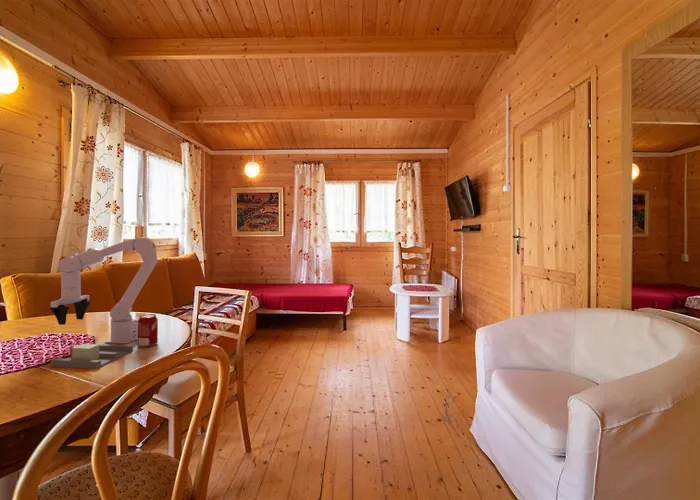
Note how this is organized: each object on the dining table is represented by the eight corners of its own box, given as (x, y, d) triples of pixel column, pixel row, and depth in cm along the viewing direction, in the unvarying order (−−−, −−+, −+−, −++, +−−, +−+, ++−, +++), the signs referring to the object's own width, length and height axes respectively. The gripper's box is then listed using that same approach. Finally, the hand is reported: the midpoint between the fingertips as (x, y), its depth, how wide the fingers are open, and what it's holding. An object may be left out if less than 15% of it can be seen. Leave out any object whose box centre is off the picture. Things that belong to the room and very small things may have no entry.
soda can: (147, 348, 123) (148, 318, 123) (133, 347, 124) (133, 316, 124) (161, 343, 130) (161, 314, 129) (147, 341, 131) (147, 313, 130)
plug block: (99, 358, 111) (99, 344, 110) (89, 363, 107) (89, 348, 106) (82, 357, 111) (82, 343, 111) (72, 362, 107) (72, 347, 107)
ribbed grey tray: (132, 351, 120) (132, 345, 120) (97, 368, 104) (97, 362, 104) (91, 349, 121) (91, 343, 121) (50, 366, 105) (50, 359, 105)
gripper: (77, 284, 131) (78, 316, 131) (42, 289, 116) (42, 326, 117) (94, 284, 130) (94, 317, 131) (60, 290, 116) (61, 327, 116)
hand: (71, 321), depth 124 cm, fingers open, 7 cm apart
